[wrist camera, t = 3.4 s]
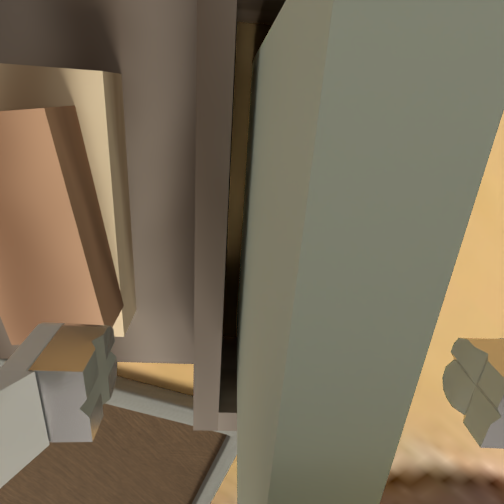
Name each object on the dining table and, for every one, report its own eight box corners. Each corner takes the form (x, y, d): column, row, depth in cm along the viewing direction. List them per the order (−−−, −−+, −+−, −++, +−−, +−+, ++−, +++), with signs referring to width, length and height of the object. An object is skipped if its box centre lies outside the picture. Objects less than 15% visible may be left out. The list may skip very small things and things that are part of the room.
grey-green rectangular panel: (286, 63, 17) (565, -88, 3) (262, 317, 23) (310, 721, 8) (252, 60, 17) (348, -115, 3) (236, 316, 23) (238, 724, 8)
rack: (338, -2, 16) (389, -48, 11) (289, 354, 24) (306, 432, 18) (-83, -41, 15) (-263, -115, 10) (7, 345, 23) (-65, 426, 17)
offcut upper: (74, 105, 14) (43, 107, 12) (123, 305, 18) (107, 337, 16) (-30, 113, 14) (-81, 117, 12) (40, 312, 18) (11, 345, 16)
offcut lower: (121, 74, 16) (102, 71, 14) (136, 309, 21) (124, 336, 19) (1, 64, 16) (-38, 60, 14) (44, 306, 21) (20, 333, 18)
